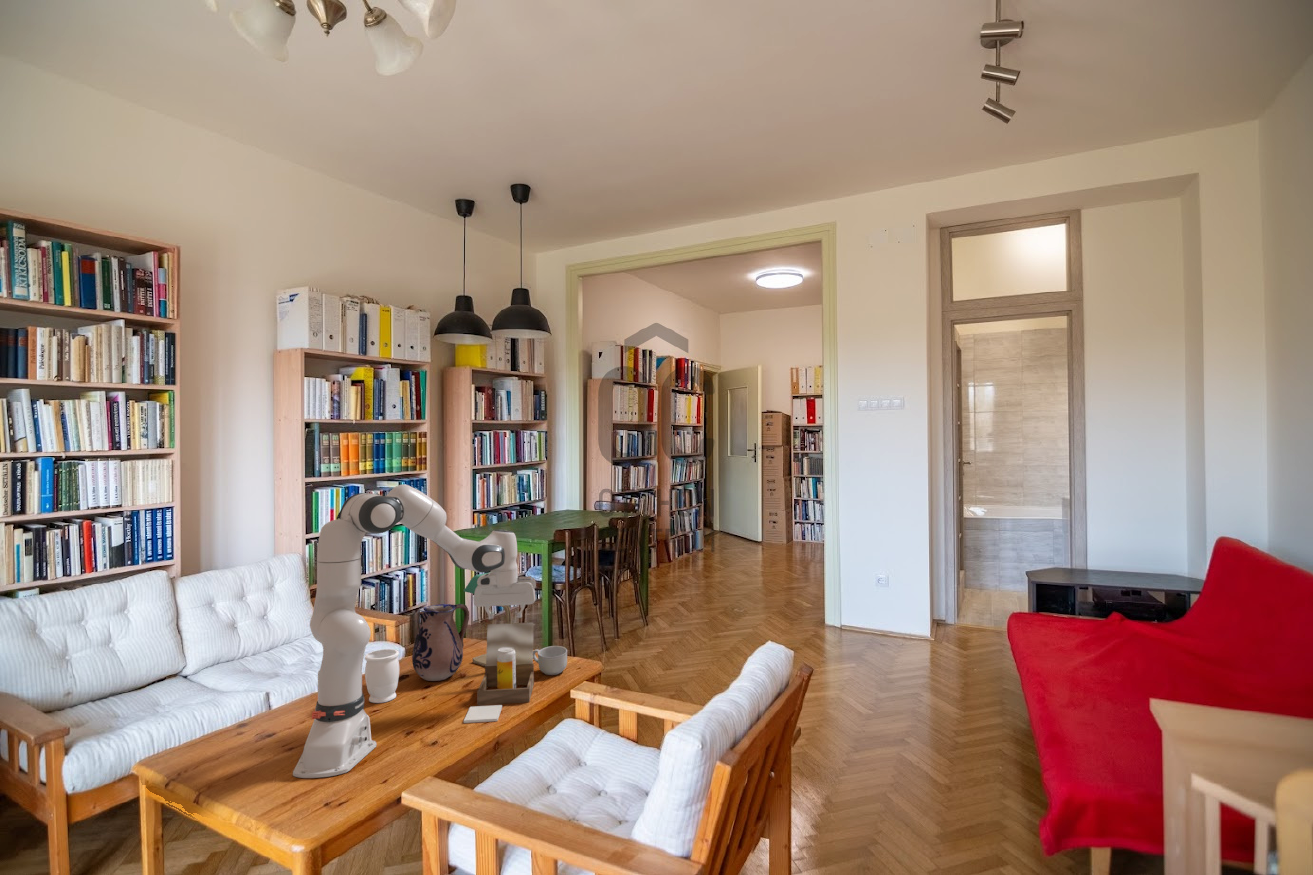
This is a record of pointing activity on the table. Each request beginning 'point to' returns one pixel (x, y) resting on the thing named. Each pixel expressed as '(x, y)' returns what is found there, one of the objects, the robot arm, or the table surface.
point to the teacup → (551, 659)
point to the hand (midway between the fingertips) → (505, 618)
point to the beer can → (506, 668)
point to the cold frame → (523, 646)
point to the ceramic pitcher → (439, 642)
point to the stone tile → (483, 714)
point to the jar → (382, 674)
